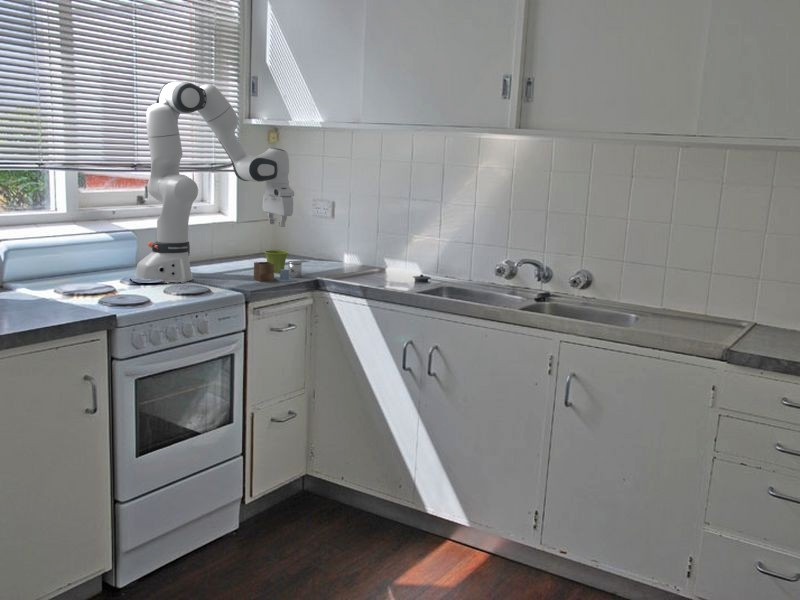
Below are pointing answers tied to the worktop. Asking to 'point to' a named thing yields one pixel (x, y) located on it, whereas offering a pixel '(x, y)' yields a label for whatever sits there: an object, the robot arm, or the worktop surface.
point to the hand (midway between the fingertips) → (276, 225)
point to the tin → (295, 269)
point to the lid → (284, 276)
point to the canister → (263, 271)
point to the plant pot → (276, 259)
